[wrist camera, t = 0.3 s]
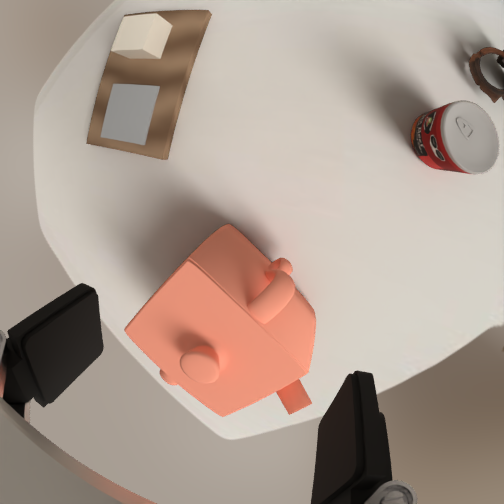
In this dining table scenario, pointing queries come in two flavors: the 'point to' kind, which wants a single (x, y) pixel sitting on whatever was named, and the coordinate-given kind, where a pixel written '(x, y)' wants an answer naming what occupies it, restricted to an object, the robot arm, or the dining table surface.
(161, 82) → the base board
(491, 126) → the canned food
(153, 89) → the pad
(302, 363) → the teapot
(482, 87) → the pottery mug
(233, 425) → the dining table surface
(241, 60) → the dining table surface
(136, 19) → the cream cube
